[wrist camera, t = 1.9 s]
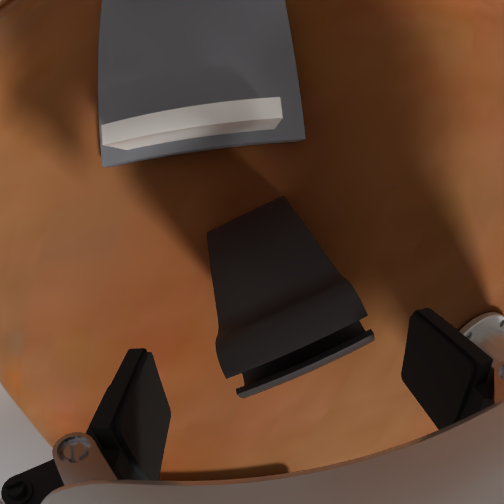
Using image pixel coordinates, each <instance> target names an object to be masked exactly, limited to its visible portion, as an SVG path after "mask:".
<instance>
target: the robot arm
mask: <svg viewBox="0 0 504 504" xmlns="http://www.w3.org/2000/svg"><path fill="white" fill-rule="evenodd" d="M401 377H402V380H403V382H404V383H405V385H406V386H407V387H408V389H409V390H410V391H411V393H412V394H413V395H414V397H415V398H416V399H417V401H418V402H419V403H420V405H421V406H422V407H423V409H424V410H425V411H426V413H427V414H428V416H429V417H430V418H431V420H432V421H433V422H434V424H435V425H436V427H437V428H438V429H439V430H438V431H435V432H433V433H431V434H428V435H426V436H423V437H421V438H418V439H415V440H413V441H410V442H407V443H404V444H402V445H399V446H396V447H393V448H390V449H387V450H384V451H380V452H377V453H374V454H371V455H367V456H364V457H360V458H356V459H353V460H349V461H345V462H341V463H337V464H332V465H328V466H323V467H318V468H313V469H308V470H303V471H297V472H291V473H285V474H278V475H270V476H262V477H253V478H242V479H229V480H207V481H159V475H160V470H161V464H162V459H163V454H164V448H165V443H166V438H167V433H168V428H169V423H170V418H171V411H170V407H169V404H168V401H167V398H166V395H165V392H164V389H163V386H162V383H161V380H160V377H159V374H158V371H157V368H156V365H155V361H154V358H153V355H152V353H151V352H147V350H146V349H145V348H140V349H129V350H128V352H127V354H126V356H125V358H124V360H123V362H122V363H121V365H120V367H119V369H118V371H117V373H116V375H115V377H114V379H113V381H112V383H111V385H110V386H109V387H108V388H107V390H106V392H105V394H104V396H103V398H102V400H101V403H100V405H99V407H98V409H97V411H96V413H95V415H94V417H93V419H92V421H91V423H90V425H89V428H88V430H87V432H86V433H81V432H74V433H70V434H67V435H65V436H63V437H61V438H60V439H59V440H58V441H57V442H56V443H55V445H54V446H53V451H52V453H53V458H54V459H52V460H50V461H48V462H46V463H44V464H41V465H39V466H37V467H34V468H32V469H30V470H27V471H25V472H23V473H20V474H18V475H15V476H13V477H11V478H9V479H8V480H7V481H6V482H5V483H4V485H3V487H2V491H1V495H2V498H1V499H0V504H504V316H503V315H501V314H500V313H496V312H488V313H485V314H482V315H480V316H478V317H476V318H474V319H473V320H471V321H470V322H469V323H467V324H466V325H465V326H464V327H463V328H462V329H461V330H460V331H458V330H457V329H456V328H454V327H453V326H452V325H451V324H449V323H448V322H447V321H445V320H444V319H443V318H442V317H440V316H439V315H438V314H436V313H435V312H434V311H433V310H431V309H430V308H424V309H420V310H416V311H415V312H414V313H413V315H412V316H411V317H410V320H409V328H408V335H407V342H406V348H405V355H404V361H403V366H402V372H401Z"/></svg>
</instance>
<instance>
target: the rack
mask: <svg viewBox="0 0 504 504" xmlns="http://www.w3.org/2000/svg"><path fill="white" fill-rule="evenodd" d="M98 112H99V131H100V146H101V158H102V167H114V166H119V165H124V164H129V163H134V162H139V161H144V160H149V159H155V158H161V157H167V156H173V155H179V154H185V153H192V152H199V151H207V150H214V149H222V148H231V147H240V146H250V145H260V144H272V143H286V142H301V141H303V140H305V139H306V136H305V128H304V119H303V111H302V103H301V96H300V88H299V81H298V74H297V68H296V61H295V55H294V49H293V43H292V37H291V31H290V25H289V20H288V14H287V9H286V4H285V0H102V5H101V16H100V29H99V47H98Z"/></svg>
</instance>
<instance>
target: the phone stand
mask: <svg viewBox="0 0 504 504" xmlns="http://www.w3.org/2000/svg"><path fill="white" fill-rule="evenodd" d="M207 240H208V249H209V257H210V264H211V272H212V280H213V287H214V294H215V302H216V309H217V315H218V324H219V330H218V335H217V338H216V352H217V356H218V360H219V363H220V366H221V369H222V371H223V373H224V375H225V377H226V379H227V378H230V377H232V376H235V375H237V374H240V373H242V374H243V378H244V384H245V386H243V387H240V388H237V389H236V392H237V395H238V396H239V397H241V398H246V397H249V396H251V395H254V394H257V393H259V392H262V391H265V390H267V389H270V388H272V387H275V386H277V385H280V384H282V383H285V382H287V381H290V380H292V379H294V378H297V377H299V376H301V375H304V374H306V373H308V372H311V371H313V370H315V369H317V368H319V367H322V366H324V365H326V364H328V363H330V362H332V361H334V360H337V359H339V358H341V357H343V356H345V355H347V354H349V353H351V352H353V351H355V350H357V349H359V348H361V347H363V346H365V345H367V344H369V343H370V342H372V341H374V333H373V332H372V330H371V329H370V330H368V331H365V330H364V328H363V326H362V325H361V323H360V321H359V320H360V319H362V318H364V317H366V316H368V315H367V312H366V310H365V308H364V306H363V304H362V302H361V300H360V298H359V296H358V295H357V293H356V291H355V290H354V288H353V287H352V285H351V284H350V283H349V281H348V280H347V279H345V278H344V277H343V276H341V274H340V273H339V272H338V271H337V270H336V268H335V267H334V266H333V264H332V263H331V261H330V260H329V258H328V257H327V256H326V254H325V253H324V251H323V250H322V249H321V247H320V246H319V244H318V243H317V241H316V240H315V239H314V237H313V236H312V234H311V233H310V232H309V230H308V229H307V227H306V226H305V225H304V223H303V222H302V221H301V219H300V218H299V216H298V215H297V214H296V212H295V211H294V210H293V208H292V207H291V206H290V204H289V203H288V202H287V200H286V199H285V198H284V196H283V197H281V198H278V199H276V200H274V201H272V202H270V203H268V204H266V205H264V206H262V207H259V208H257V209H255V210H253V211H251V212H249V213H247V214H245V215H243V216H241V217H239V218H237V219H234V220H232V221H230V222H228V223H226V224H224V225H222V226H220V227H218V228H216V229H214V230H212V231H210V232H208V233H207Z"/></svg>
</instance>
